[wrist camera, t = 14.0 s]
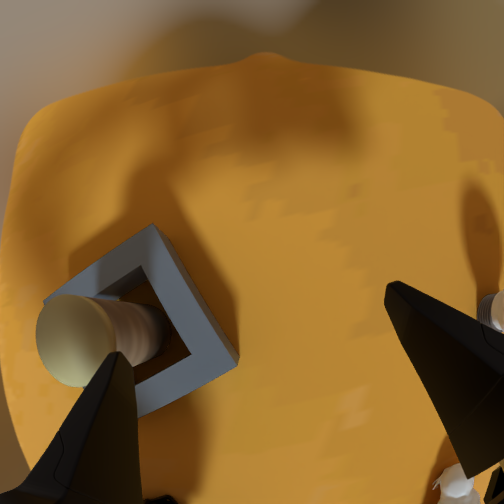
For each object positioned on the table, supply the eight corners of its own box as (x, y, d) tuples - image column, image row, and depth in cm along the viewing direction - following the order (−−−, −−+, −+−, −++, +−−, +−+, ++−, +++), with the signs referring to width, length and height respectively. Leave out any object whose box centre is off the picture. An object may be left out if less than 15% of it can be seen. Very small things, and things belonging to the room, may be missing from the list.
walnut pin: (181, 342, 22) (124, 364, 11) (137, 367, 21) (61, 399, 11) (153, 294, 23) (81, 276, 12) (112, 320, 22) (25, 319, 11)
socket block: (239, 356, 22) (237, 365, 18) (129, 415, 20) (109, 431, 17) (167, 237, 24) (152, 223, 20) (69, 303, 22) (42, 300, 18)
